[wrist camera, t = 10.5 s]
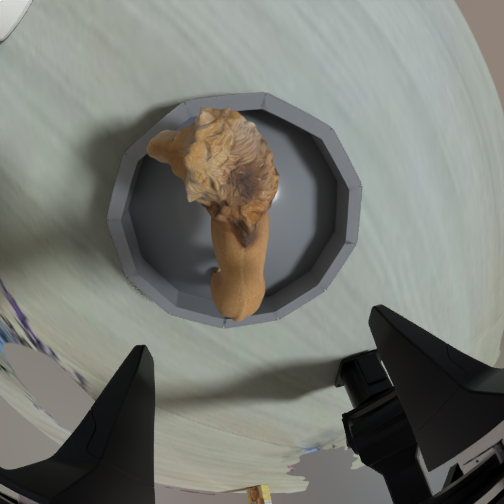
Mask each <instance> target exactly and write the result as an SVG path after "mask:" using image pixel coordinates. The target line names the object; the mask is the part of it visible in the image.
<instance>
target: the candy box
mask: <svg viewBox="0 0 504 504" xmlns="http://www.w3.org/2000/svg"><path fill="white" fill-rule="evenodd" d="M246 490H247V497H248V503H249V504H272V502H271V497H270V492H269V487H268V485H259V486H256V487H252V488H248V489H246Z"/></svg>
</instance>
